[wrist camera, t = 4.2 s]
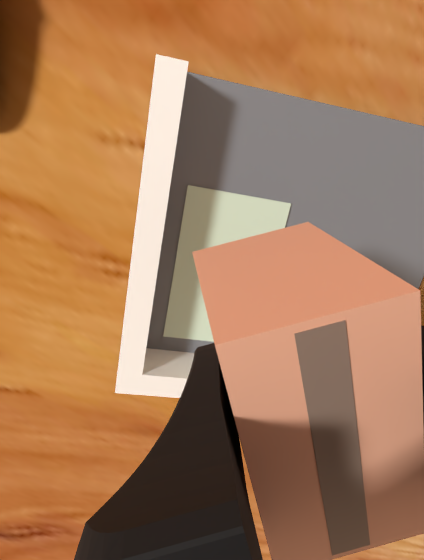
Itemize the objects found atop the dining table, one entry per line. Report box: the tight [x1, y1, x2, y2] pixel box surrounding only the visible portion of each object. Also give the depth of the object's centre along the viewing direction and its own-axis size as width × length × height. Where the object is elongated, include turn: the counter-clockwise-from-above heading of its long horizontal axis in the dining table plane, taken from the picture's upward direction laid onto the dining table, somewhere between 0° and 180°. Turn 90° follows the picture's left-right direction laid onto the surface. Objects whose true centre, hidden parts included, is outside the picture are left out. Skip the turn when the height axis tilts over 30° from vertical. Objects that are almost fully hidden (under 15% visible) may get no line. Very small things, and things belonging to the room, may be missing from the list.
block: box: [192, 222, 424, 560], centre depth 11 cm, size 7×4×6 cm, turn 13°
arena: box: [115, 54, 424, 398], centre depth 19 cm, size 16×15×3 cm
